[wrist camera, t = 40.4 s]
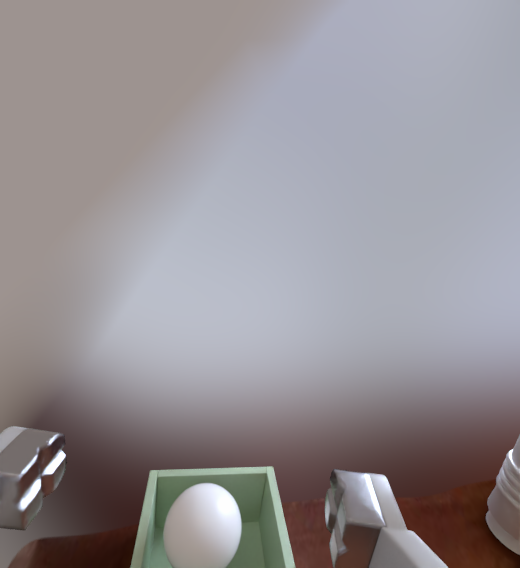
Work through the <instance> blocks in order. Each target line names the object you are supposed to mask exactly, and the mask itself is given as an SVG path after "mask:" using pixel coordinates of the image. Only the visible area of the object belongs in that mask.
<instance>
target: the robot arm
mask: <svg viewBox="0 0 520 568" xmlns="http://www.w3.org/2000/svg"><path fill="white" fill-rule="evenodd" d="M64 445H65V436H64V435H63V434H61V433H55V432H49V431H43V430H37V429H30V428H22V427H16V426H12V427H9V428H7V429H5V430H4V431H3V432H2V433H1V434H0V528H6V529H15V530H26V529H27V527H28V526H29V524H30V523H31V522H32V520H33V519H34V518H35V516H36V515H37V514H38V512H39V511H40V509H41V508H42V507H43V498H44V497H45V496H47V495H49V494H50V493H52V492H54V490H55V489H56V487H57V486H58V484H59V483H60V481H61V479H62V477H63V474H64V472H65V468H66V463H67V462H66V455H65V454H64V453H63V451H62V450H61V449H62V448H63V446H64ZM330 481H331V488H330V489H328V490H327V494H326V499H325V519H326V526H327V529H328V530H329V531H330V533H331V534H332V536H331V540H330V544H329V545H330V551H331V557H332V563H333V568H448V567H447V566H446V565H445V564H444V563H443V562H442V560H441V559H440V558H439V557H438V556H437V555H436V554H435V553H434V552H433V551H432V550H431V549H430V548H429V547H428V546H427V545H426V544H425V543H424V542H423V541H422V540H421V539H420V538H419V537H418V536H417V535H416V534H415V533H414V532H413V531H409V530H407V528H406V525H405V523H404V520H403V518H402V515H401V513H400V510H399V508H398V505H397V503H396V500H395V498H394V495H393V493H392V491H391V488H390V485H389V483H388V480H387V478H386V477H385V476H384V475H379V474H371V473H363V472H354V471H347V470H338V469H333V471H332V473H331V477H330Z"/></svg>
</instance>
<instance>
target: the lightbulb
mask: <svg viewBox="0 0 520 568" xmlns="http://www.w3.org/2000/svg"><path fill="white" fill-rule="evenodd" d="M241 532H242V521H241V514H240V510H239V507H238V505H237V503H236V501H235V499H234V498H233V496H232V495H231V494H230V493H229V492H228V491H227V490H226V489H225V488H223V487H221V486H219V485H217V484H213V483H200V484H196V485H194V486H191V487H190V488H188V489H186V490H185V491H184V492H183V493H181V494H180V495H179V496H178V498H177V499H176V500H175V501H174V503H173V504H172V506H171V508H170V510H169V512H168V514H167V517H166V520H165V525H164V531H163V543H164V549H165V553H166V556H167V558H168V561H169V562H170V564H171V566H172V567H173V568H226V567H227V566H228V565H229V563H230V562H231V561H232V559H233V557H234V556H235V554H236V551H237V549H238V546H239V543H240V539H241Z"/></svg>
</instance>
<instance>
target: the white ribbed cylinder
mask: <svg viewBox="0 0 520 568" xmlns="http://www.w3.org/2000/svg"><path fill="white" fill-rule="evenodd" d="M496 484H497V485H496V487H495V488H494V490H493V491H492V493H491V495H490V496H489V498H488V502H487V504H488V508H489V511H488V512H487V513H486V521H487V524H488V526H489V528H490V530H491V531H492V532H493V534H494V535H495V536H496V537H497V538H498V539H499V540H500V541H501V542H502V543H503V544H504V545H505V546H506V547H508V548H509V549H510V550H512V551H513V552H515V553H517V554H518V555H520V435H519V438H518V440H517V442H516V445H515V447H514V449H513V450H510V451H509V452H508V453H507V455H506V459H505V460H504V462H503V466H502V468H501V469H500V473H499V475H498V476H497V479H496Z"/></svg>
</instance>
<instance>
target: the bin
mask: <svg viewBox="0 0 520 568" xmlns="http://www.w3.org/2000/svg"><path fill="white" fill-rule="evenodd" d="M200 483H213V484H217V485H219V486H221V487H223V488H225V489H226V490H227V491H228V492H229V493H230V494H231V495H232V496H233V498H234V499H235V501H236V503H237V505H238V507H239V510H240V514H241V521H242V532H241V539H240V543H239V546H238V549H237V551H236V554H235V556H234V557H233V559H232V561H231V562H230V563H229V565H228V566H227V567H226V568H295V564H294V560H293V555H292V551H291V546H290V542H289V537H288V533H287V528H286V524H285V519H284V515H283V510H282V506H281V501H280V497H279V492H278V488H277V483H276V478H275V474H274V469H273V467H246V468H215V469H184V470H183V469H181V470H159V471H158V470H151V471H150V474H149V479H148V484H147V489H146V494H145V498H144V503H143V508H142V513H141V518H140V523H139V528H138V533H137V537H136V542H135V547H134V552H133V557H132V562H131V567H130V568H173V567H172V566H171V564H170V562H169V561H168V558H167V556H166V553H165V549H164V543H163V531H164V525H165V520H166V517H167V514H168V512H169V510H170V508H171V506H172V504H173V503H174V501H175V500H176V499H177V498H178V496H179V495H180V494H181V493H183V492H184V491H185V490H186V489H188V488H190V487H191V486H194V485H196V484H200Z"/></svg>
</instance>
